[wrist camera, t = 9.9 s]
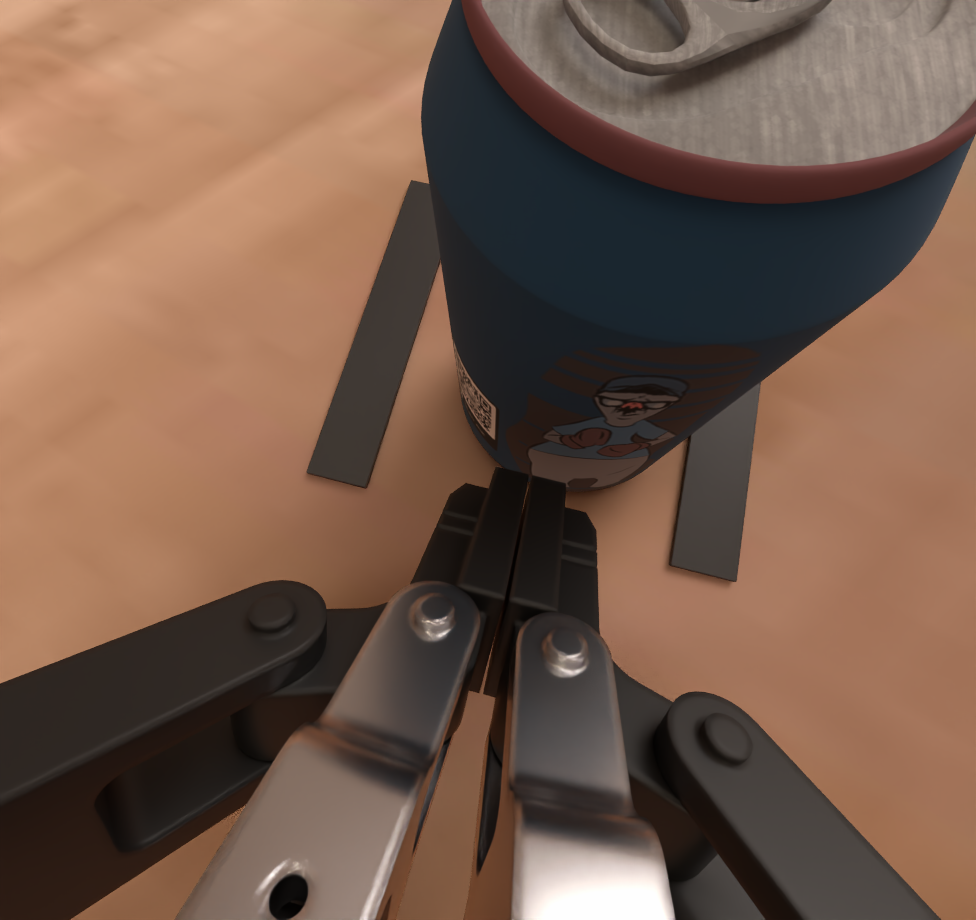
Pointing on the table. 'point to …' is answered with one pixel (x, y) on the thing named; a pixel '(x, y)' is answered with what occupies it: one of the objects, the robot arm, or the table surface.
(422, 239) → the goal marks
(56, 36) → the table surface
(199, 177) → the table surface
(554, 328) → the soda can
